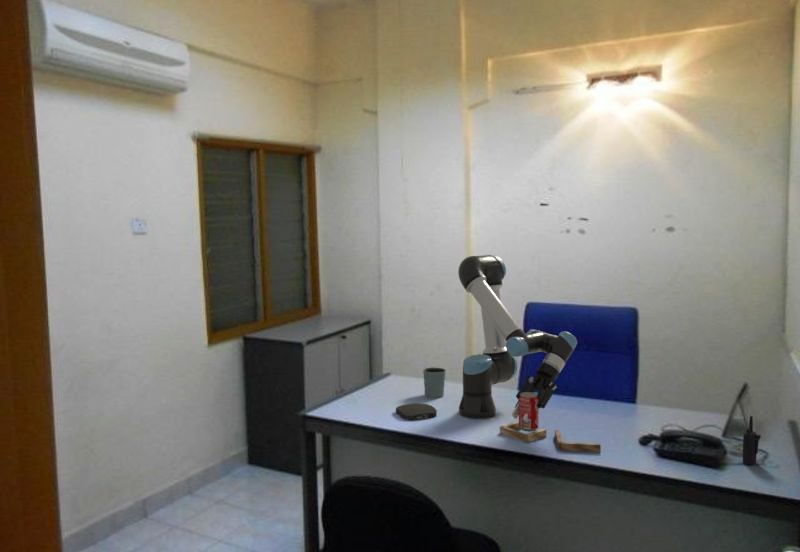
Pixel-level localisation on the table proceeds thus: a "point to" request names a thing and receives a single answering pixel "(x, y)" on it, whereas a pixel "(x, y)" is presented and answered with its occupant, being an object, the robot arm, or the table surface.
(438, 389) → the grey-green cup
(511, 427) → the wooden u-channel
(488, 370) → the robot arm
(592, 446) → the bracket
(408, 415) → the media streaming box
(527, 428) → the soda can
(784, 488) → the table surface
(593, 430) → the table surface
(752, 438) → the two-way radio
